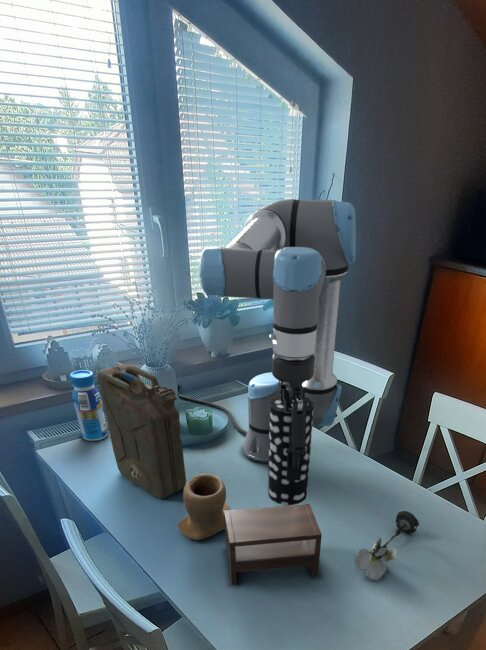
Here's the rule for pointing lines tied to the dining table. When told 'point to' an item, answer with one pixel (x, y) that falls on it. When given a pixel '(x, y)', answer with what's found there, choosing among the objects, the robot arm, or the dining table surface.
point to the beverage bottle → (88, 406)
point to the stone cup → (204, 507)
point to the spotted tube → (278, 443)
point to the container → (143, 429)
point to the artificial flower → (384, 548)
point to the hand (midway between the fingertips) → (288, 468)
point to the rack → (272, 539)
